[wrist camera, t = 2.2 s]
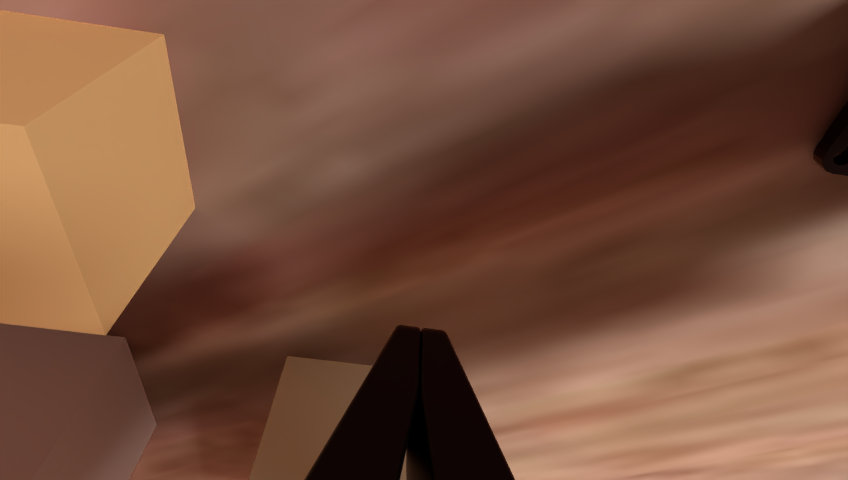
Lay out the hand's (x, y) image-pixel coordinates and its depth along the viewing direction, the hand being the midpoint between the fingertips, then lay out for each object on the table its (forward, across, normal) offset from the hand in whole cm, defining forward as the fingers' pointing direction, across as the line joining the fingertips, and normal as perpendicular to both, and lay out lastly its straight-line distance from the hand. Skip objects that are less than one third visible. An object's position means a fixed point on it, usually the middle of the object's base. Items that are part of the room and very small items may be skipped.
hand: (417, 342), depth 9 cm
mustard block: (+6, +9, 0) cm, 11 cm away
